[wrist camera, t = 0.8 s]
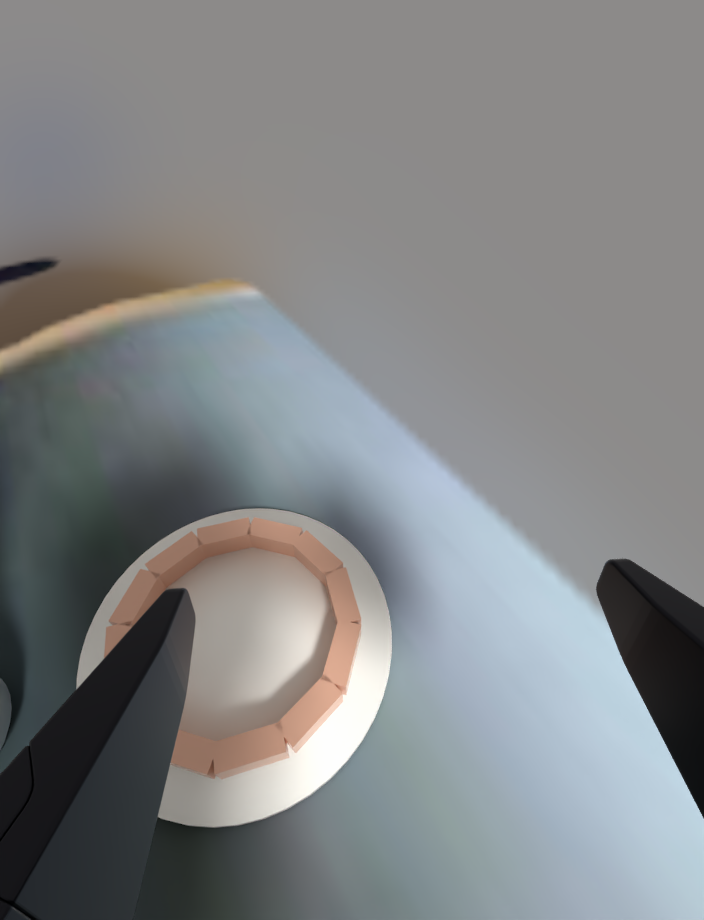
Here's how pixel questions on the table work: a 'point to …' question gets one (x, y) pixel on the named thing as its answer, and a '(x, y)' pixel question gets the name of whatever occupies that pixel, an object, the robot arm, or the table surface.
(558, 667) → the table surface
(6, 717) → the plastic bottle
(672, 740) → the robot arm
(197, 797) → the white orange plate
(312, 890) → the table surface
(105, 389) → the table surface
